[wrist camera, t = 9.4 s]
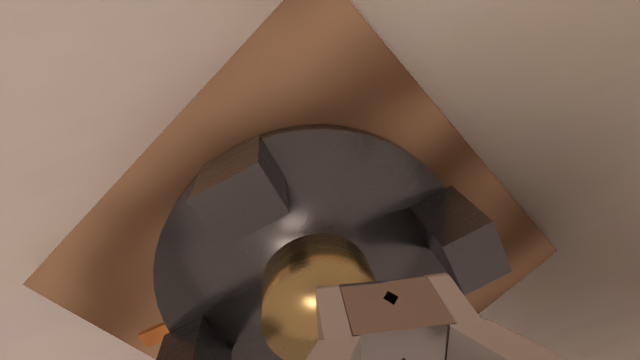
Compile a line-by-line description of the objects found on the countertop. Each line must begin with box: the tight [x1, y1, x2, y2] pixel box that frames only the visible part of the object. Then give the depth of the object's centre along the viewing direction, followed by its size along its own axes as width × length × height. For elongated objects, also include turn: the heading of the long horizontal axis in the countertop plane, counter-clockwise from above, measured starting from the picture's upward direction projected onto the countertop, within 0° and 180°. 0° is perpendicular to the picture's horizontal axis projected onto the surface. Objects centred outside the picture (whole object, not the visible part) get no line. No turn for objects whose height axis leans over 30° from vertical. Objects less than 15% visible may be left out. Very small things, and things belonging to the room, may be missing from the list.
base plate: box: [23, 0, 557, 359], centre depth 23 cm, size 22×22×2 cm
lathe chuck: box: [153, 124, 512, 360], centre depth 20 cm, size 17×17×5 cm
